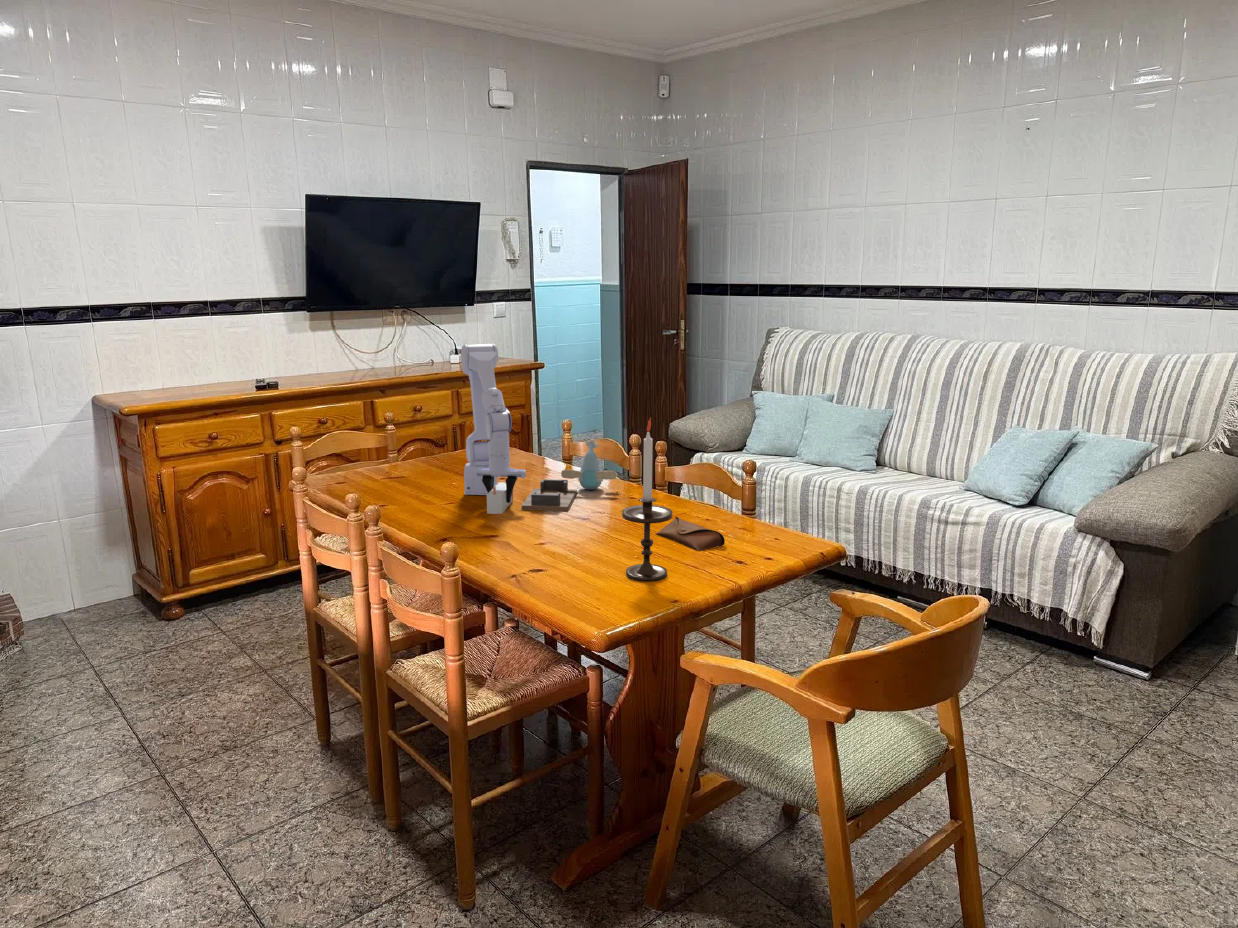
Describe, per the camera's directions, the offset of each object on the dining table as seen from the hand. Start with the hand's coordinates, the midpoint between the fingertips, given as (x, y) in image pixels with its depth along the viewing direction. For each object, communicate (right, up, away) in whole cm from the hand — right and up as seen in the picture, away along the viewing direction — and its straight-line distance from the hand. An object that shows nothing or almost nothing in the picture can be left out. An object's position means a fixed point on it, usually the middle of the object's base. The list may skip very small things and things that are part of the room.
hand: (500, 501), depth 242 cm
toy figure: (+25, +3, +20) cm, 32 cm away
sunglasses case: (+51, -9, -28) cm, 59 cm away
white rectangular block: (0, -2, 0) cm, 2 cm away
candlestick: (+39, -14, -53) cm, 67 cm away
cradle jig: (+14, 0, +6) cm, 15 cm away
